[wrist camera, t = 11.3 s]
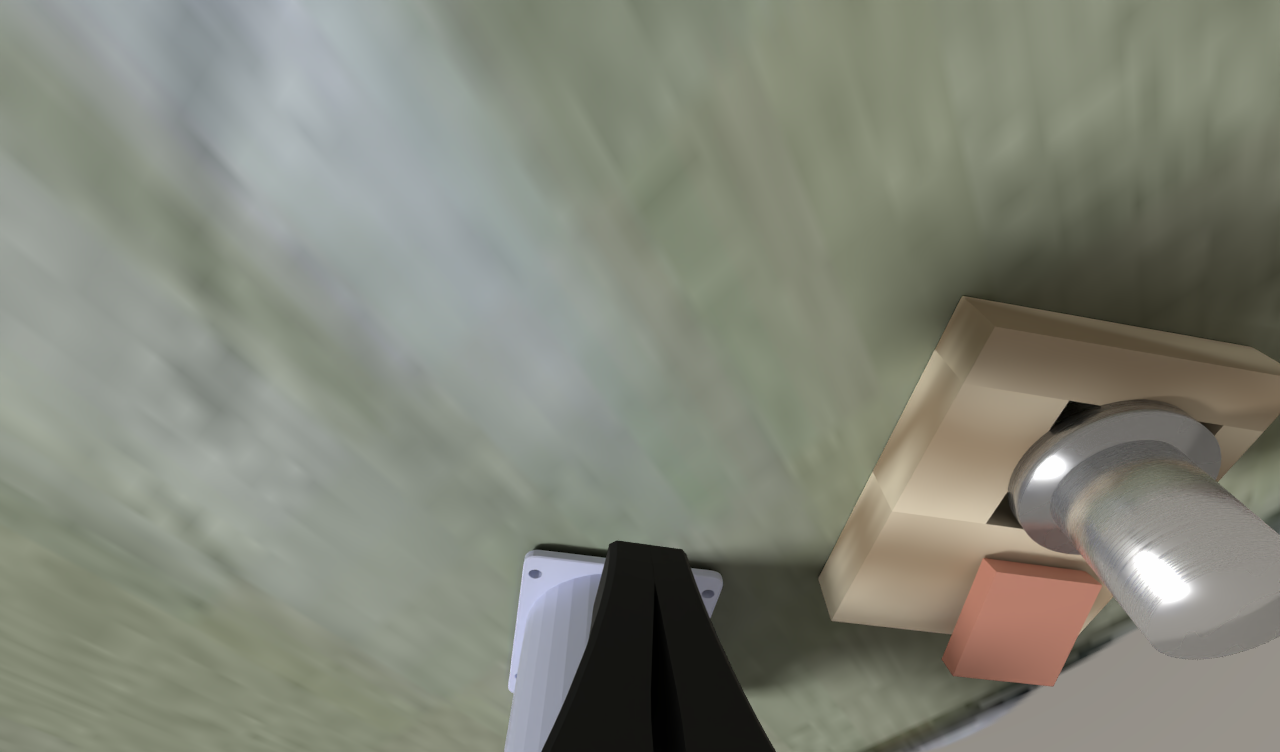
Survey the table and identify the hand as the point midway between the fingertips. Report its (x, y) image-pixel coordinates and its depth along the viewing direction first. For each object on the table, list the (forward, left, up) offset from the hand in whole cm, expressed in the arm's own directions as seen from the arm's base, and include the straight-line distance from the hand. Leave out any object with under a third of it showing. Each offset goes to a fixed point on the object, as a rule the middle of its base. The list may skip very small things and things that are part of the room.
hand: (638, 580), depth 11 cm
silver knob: (-1, -16, -9) cm, 18 cm away
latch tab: (-8, -15, -7) cm, 18 cm away
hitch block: (-3, -15, -9) cm, 18 cm away
